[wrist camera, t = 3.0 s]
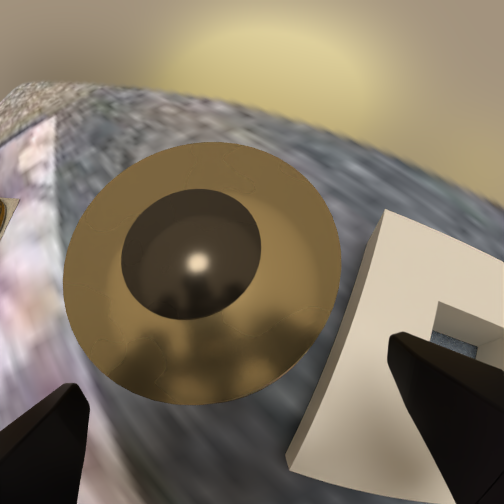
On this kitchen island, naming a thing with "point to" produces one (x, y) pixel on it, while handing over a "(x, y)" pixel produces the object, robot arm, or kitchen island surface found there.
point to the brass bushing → (202, 273)
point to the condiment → (6, 212)
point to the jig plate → (376, 367)
